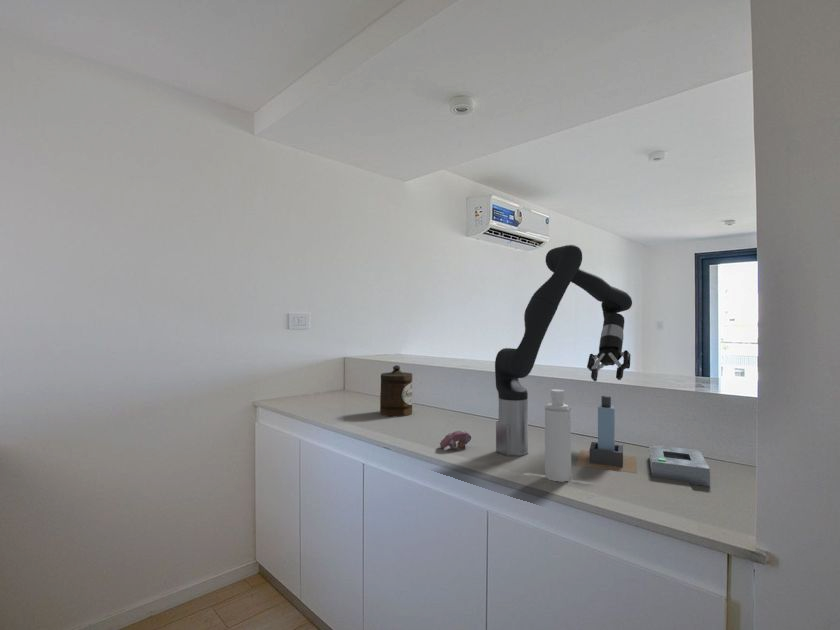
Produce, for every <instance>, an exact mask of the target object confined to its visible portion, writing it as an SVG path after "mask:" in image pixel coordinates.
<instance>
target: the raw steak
mask: <svg viewBox="0 0 840 630" xmlns="http://www.w3.org/2000/svg"><path fill="white" fill-rule="evenodd" d="M471 440H472V436H471V434H470V433H468V432H467V431H466V430H464V431H462V430H456V431H453V432H449V433H448V434H446V435H445V437H443V439H442V440H441V441H440V443H439V444H440V445H439V447H440V448H441V449H445V448H447V447H448V446H449V448H450V449H451V450H454V449H455V448H456V447H457V446H458V448H460V449H462V448H464V447H465V445H467V444H468V443H470V441H471ZM456 442H457V443H456ZM453 448H454V449H453Z"/></svg>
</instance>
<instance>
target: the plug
mask: <svg viewBox="0 0 840 630" xmlns="http://www.w3.org/2000/svg"><path fill="white" fill-rule="evenodd" d="M600 402H601V404H598V406H597V439H598V440H597V442H598V449H601V450H610V451H615V444H616V440H615V438H616V437H615V436H616V435H615V434H616V430H615V429H616V427H615V426H616V425H615V423H616V421H615V417H616V415H615V414H616V413H615V411H616V410H615V405H612V396H609V395H602V396H601V401H600Z"/></svg>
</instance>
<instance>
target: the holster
mask: <svg viewBox="0 0 840 630" xmlns="http://www.w3.org/2000/svg"><path fill="white" fill-rule="evenodd" d="M637 464H638V463H637V456H631V455H624V445H623V444H616V443H615V451H610V450H601V449H598V441H596V442H595V441H591V443H590V447H589V449H588V450H582V449H580V451H579V453H578V457H577V460H576V461H575V466H579V467H587V468H595V469H602V470H609V471H618V472H622V473H623V472H624V473H630V474H631V473H632V474H638V465H637Z"/></svg>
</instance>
